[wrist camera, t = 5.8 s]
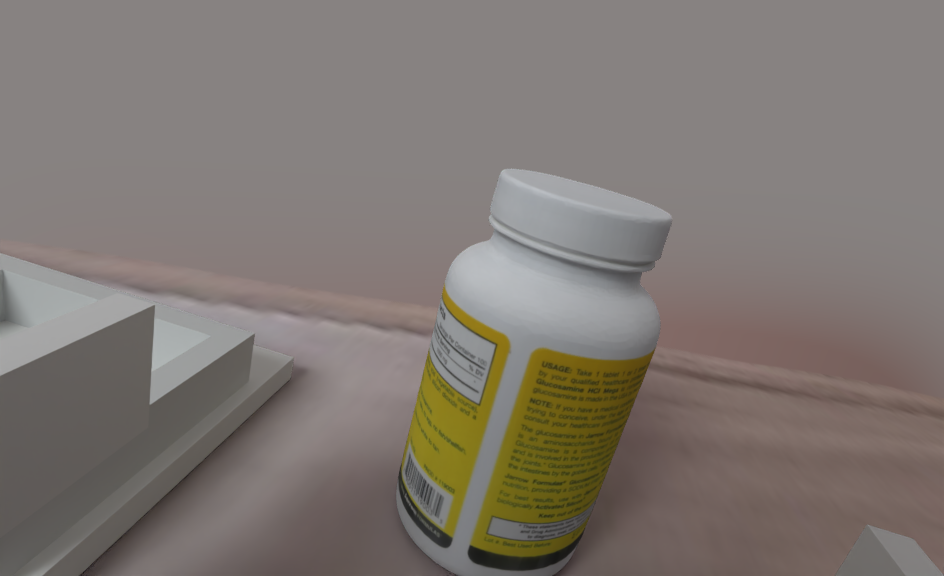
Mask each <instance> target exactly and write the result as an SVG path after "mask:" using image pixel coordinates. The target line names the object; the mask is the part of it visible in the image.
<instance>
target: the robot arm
mask: <svg viewBox="0 0 944 576" xmlns="http://www.w3.org/2000/svg"><path fill="white" fill-rule="evenodd" d="M154 316H155V304H152V303H148V302H145V301H142V300H139V299H135V298H132V297H129V296H126V295H123V294H119V293H116V294H114V295H111V296H109V297H106V298H104V299H101V300H99V301H96V302H94V303H91V304H89V305H86V306H83V307H81V308H78V309H76V310H73V311H71V312H68V313H66V314H63V315H61V316H58V317H56V318H53V319H51V320H48V321H45V322H43V323H40V324H38V325H35V326H33V327H30V328H28V329H25V330H23V331H20V332H18V333H15V334H12V335H10V336H7V337H5V338H2V339H0V538H1V537H2V536H4V535H5V534H6V533H8V532H9V531H10V530H12V529H13V528H14V527H16V526H17V525H18V524H20V523H21V522H22V521H24V520H25V519H26V518H28V517H29V516H30V515H32V514H33V513H34V512H36V511H37V510H38V509H40V508H41V507H42V506H44V505H45V504H46V503H48V502H49V501H50V500H52V499H53V498H54V497H56V496H57V495H58V494H60V493H61V492H62V491H64V490H65V489H66V488H68V487H69V486H70V485H72V484H73V483H75V482H76V481H77V480H79V479H80V478H81V477H83V476H84V475H85V474H87V473H88V472H89V471H91V470H92V469H93V468H95V467H96V466H97V465H99V464H100V463H101V462H103V461H104V460H105V459H107V458H108V457H109V456H111V455H112V454H113V453H115V452H116V451H117V450H119V449H120V448H121V447H123V446H124V445H125V444H127V443H128V442H129V441H131V440H132V439H133V438H135V437H136V436H137V435H139V434H140V433H141V432H143V431H144V430H145V429H147V428H148V423H149V405H150V387H151V370H152V352H153V334H154ZM835 576H944V575H943V574H942V573H941V572H940V570H939V569H938V568H937V567H936V566H935V564H934V563H933V562H932V561H931V560H930V558H929V557H928V556H927V555H926V554H925V552H924V551H923V550H922V549H921V548H920V546H919V545H918V544H917V543H916V542H915V540H914V539H912V538H909V537H906V536H903V535H900V534H896V533H893V532H890V531H887V530H883V529H880V528H877V527H874V526H870V525H866V527H865V528H864V530H863V532H862V533H861V535H860V536H859V538H858V540H857V541H856V543H855V544H854V546H853V548H852V549H851V551H850V552H849V554H848V555H847V557H846V559H845V560H844V562H843V563H842V565H841V567H840V568H839V570H838V571H837V573H836V575H835Z"/></svg>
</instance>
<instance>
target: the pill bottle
mask: <svg viewBox="0 0 944 576" xmlns="http://www.w3.org/2000/svg"><path fill="white" fill-rule="evenodd" d="M490 211H491V213H492V214H491V215H490V217H489V222H490V224H491V225H492V227H493V228H494V233H493V236H492V238H491V239H490V240H489V241H484V242H480V243H477V244H474V245H472V246H470V247H469V248H467V249H465V250H464V251H463V252H462V253H460V254H459V255H458V256H457V257H456V259H455V260H454V261H453V263H452V264H451V266H450V268H449V271H448V274H447V277H446V280H445V284H444V288H443V293H442V296H441V300H440V305H439V310H438V314H437V319H436V323H435V327H434V331H433V334H432V339H431V343H430V348H429V351H428V356H427V360H426V364H425V368H424V372H423V376H422V381H421V385H420V389H419V392H418V397H417V402H416V406H415V410H414V414H413V418H412V422H411V426H410V430H409V434H408V438H407V442H406V446H405V450H404V455H403V460H402V463H401V467H400V472H399V477H398V482H397V489H396V502H397V509H398V513H399V516H400V518H401V521H402V523H403V525H404V528H405V529H406V531H407V533H408V534H409V536H410V537H411V538H412V540H413V541H414V542H415V543H416V545H417V546H418V547H419V548H420V549H421V550H422V551H423V552H424V553H425V554H426V555H427V556H428V557H430V558H431V559H432V560H433V561H434V562H436V563H437V564H439V565H440V566H442V567H443V568H445V569H447V570H448V571H450V572H452V573H454V574H456V575H458V576H553V575H554V574H556V573H557V572H558V571H559V570H561V569H562V568H563V567H564V566H565V565H566V564H567V562H568V561H569V560H570V558H571V557H572V555H573V553H574V552H575V550H576V548H577V545H578V543H579V541H580V539H581V537H582V535H583V532H584V529H585V526H586V524H587V522H588V519H589V517H590V514H591V512H592V510H593V507H594V505H595V502H596V499H597V496H598V493H599V491H600V489H601V486H602V484H603V481H604V478H605V476H606V473H607V470H608V468H609V465H610V463H611V460H612V458H613V455H614V453H615V450H616V447H617V445H618V442H619V440H620V437H621V435H622V432H623V429H624V427H625V424H626V422H627V419H628V417H629V415H630V412H631V409H632V406H633V404H634V401H635V399H636V396H637V394H638V391H639V389H640V387H641V384H642V382H643V379H644V377H645V374H646V371H647V369H648V366H649V364H650V361H651V359H652V356H653V354H654V351H655V349H656V345H657V341H658V338H659V334H660V317H659V313H658V310H657V307H656V305H655V303H654V301H653V299H652V298H651V296H650V295H649V293H648V292H647V291H646V290H645V289H644V288H643V287H642V286H641V285H640V278H641V275H642V272H646V271H650V270H652V269H653V268H654V267H655V261H657V260H659V259H660V258H661V255H662V251H663V248H664V245H665V242H666V239H667V236H668V233H669V230H670V227H671V224H672V216H671V215H670V214H669V213H667V212H666V211H664V210H662V209H660V208H658V207H656V206H653V205H651V204H649V203H646V202H643V201H640V200H638V199H634V198H632V197H628V196H625V195H622V194H619V193H616V192H613V191H610V190H606V189H603V188H599V187H596V186H592V185H588V184H585V183H581V182H578V181H574V180H570V179H566V178H562V177H558V176H554V175H549V174H545V173H540V172H534V171H528V170H521V169H505V170H503V171H502V172H501V174H500V176H499V179H498V183H497V186H496V190H495V193H494V196H493V200H492V204H491V208H490Z"/></svg>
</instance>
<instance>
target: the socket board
mask: <svg viewBox="0 0 944 576" xmlns="http://www.w3.org/2000/svg"><path fill="white" fill-rule="evenodd" d="M116 293H119V294H123V295H126V296H129V297H132V298H135V299H139V300H142V301H145V302H148V303H152V304H155V316H154V334H153V352H152V370H151V387H150V405H149V423H148V428H147V429H145V430H144V431H143V432H141V433H140V434H139V435H137V436H136V437H135V438H133V439H132V440H131V441H129V442H128V443H127V444H125V445H124V446H123V447H121V448H120V449H119V450H117V451H116V452H115V453H113V454H112V455H111V456H109V457H108V458H107V459H105V460H104V461H103V462H101V463H100V464H99V465H97V466H96V467H95V468H93V469H92V470H91V471H89V472H88V473H87V474H85V475H84V476H83V477H81V478H80V479H79V480H77V481H76V482H75V483H73V484H72V485H70V486H69V487H68V488H66V489H65V490H64V491H62V492H61V493H60V494H58V495H57V496H56V497H54V498H53V499H52V500H50V501H49V502H48V503H46V504H45V505H44V506H42V507H41V508H40V509H38V510H37V511H36V512H34V513H33V514H32V515H30V516H29V517H28V518H26V519H25V520H24V521H22V522H21V523H20V524H18V525H17V526H16V527H14V528H13V529H12V530H10V531H9V532H8V533H6V534H5V535H4V536H2V537H1V538H0V576H79V575H80V574H81V573H82V572H84V571H85V570H86V569H87V568H88V567H89V566H90V565H91V564H92V563H93V562H94V561H95V560H96V559H98V558H99V557H100V556H101V555H102V554H103V553H104V552H105V551H106V550H107V549H108V548H109V547H110V546H111V545H113V544H114V543H115V542H116V541H117V540H118V539H119V538H120V537H121V536H122V535H123V534H124V533H125V532H126V531H128V530H129V529H130V528H131V527H132V526H133V525H134V524H135V523H136V522H137V521H138V520H139V519H140V518H142V517H143V516H144V515H145V514H146V513H147V512H148V511H149V510H150V509H151V508H152V507H153V506H154V505H155V504H157V503H158V502H159V501H160V500H161V499H162V498H163V497H164V496H165V495H166V494H167V493H168V492H169V491H170V490H172V489H173V488H174V487H175V486H176V485H177V484H178V483H179V482H180V481H181V480H182V479H183V478H184V477H186V476H187V475H188V474H189V473H190V472H191V471H192V470H193V469H194V468H195V467H196V466H197V465H198V464H199V463H201V462H202V461H203V460H204V459H205V458H206V457H207V456H208V455H209V454H210V453H211V452H212V451H213V450H214V449H216V448H217V447H218V446H219V445H220V444H221V443H222V442H223V441H224V440H225V439H226V438H227V437H228V436H229V435H231V434H232V433H233V432H234V431H235V430H236V429H237V428H238V427H239V426H240V425H241V424H242V423H243V422H245V421H246V420H247V419H248V418H249V417H250V416H251V415H252V414H253V413H254V412H255V411H256V410H257V409H258V408H260V407H261V406H262V405H263V404H264V403H265V402H266V401H267V400H268V399H269V398H270V397H271V396H272V395H273V394H275V393H276V392H277V391H278V390H279V389H280V388H281V387H282V386H283V385H284V384H285V383H286V382H287V381H289V380H290V379H291V374H292V368H293V361H294V357H291V356H288V355H285V354H282V353H279V352H276V351H272V350H269V349H266V348H263V347H260V346H257V345H253V344H254V336H255V333H252V332H249V331H246V330H243V329H239V328H236V327H233V326H230V325H227V324H224V323H220V322H217V321H214V320H211V319H208V318H205V317H201V316H198V315H195V314H192V313H189V312H186V311H182V310H179V309H176V308H173V307H170V306H167V305H163V304H160V303H157V302H154V301H151V300H148V299H144V298H141V297H138V296H135V295H132V294H129V293H125V292H122V291H119V290H116V289H113V288H110V287H106V286H103V285H100V284H97V283H94V282H91V281H87V280H84V279H81V278H78V277H75V276H71V275H68V274H65V273H62V272H59V271H56V270H52V269H49V268H46V267H43V266H40V265H37V264H33V263H30V262H27V261H24V260H21V259H18V258H14V257H11V256H8V255H5V254H2V253H0V339H2V338H5V337H7V336H10V335H12V334H15V333H18V332H20V331H23V330H25V329H28V328H30V327H33V326H35V325H38V324H40V323H43V322H45V321H48V320H51V319H53V318H56V317H58V316H61V315H63V314H66V313H68V312H71V311H73V310H76V309H78V308H81V307H83V306H86V305H89V304H91V303H94V302H96V301H99V300H101V299H104V298H106V297H109V296H111V295H114V294H116Z"/></svg>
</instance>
